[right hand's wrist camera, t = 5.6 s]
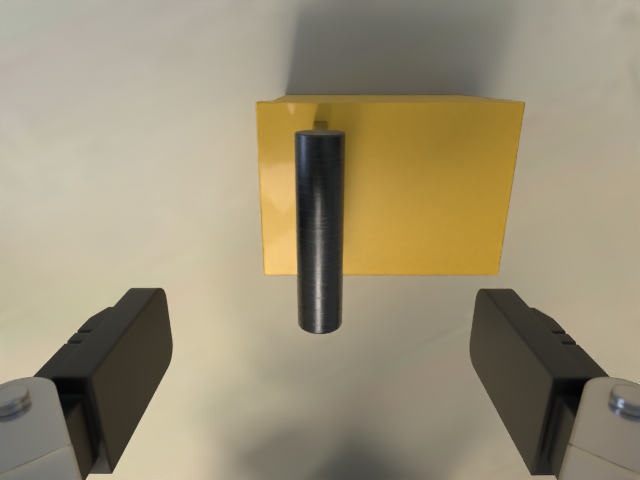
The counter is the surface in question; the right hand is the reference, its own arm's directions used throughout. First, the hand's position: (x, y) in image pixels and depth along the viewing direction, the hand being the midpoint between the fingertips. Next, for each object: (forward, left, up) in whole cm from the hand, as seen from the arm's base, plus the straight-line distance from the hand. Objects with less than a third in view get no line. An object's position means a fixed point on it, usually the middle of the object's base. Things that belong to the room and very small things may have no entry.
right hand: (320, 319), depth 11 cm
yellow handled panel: (+1, -3, -14) cm, 15 cm away
